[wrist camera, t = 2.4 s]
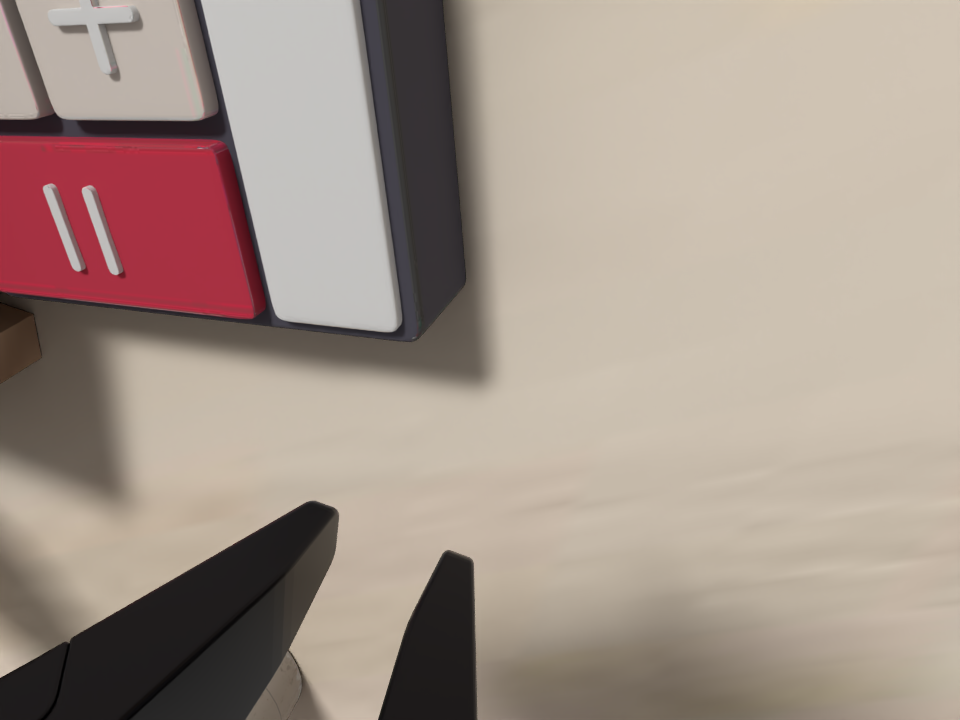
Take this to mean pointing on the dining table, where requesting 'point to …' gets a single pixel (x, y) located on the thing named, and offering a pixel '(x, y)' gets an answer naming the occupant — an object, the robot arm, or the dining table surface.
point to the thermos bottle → (279, 693)
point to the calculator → (232, 161)
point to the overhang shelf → (17, 341)
